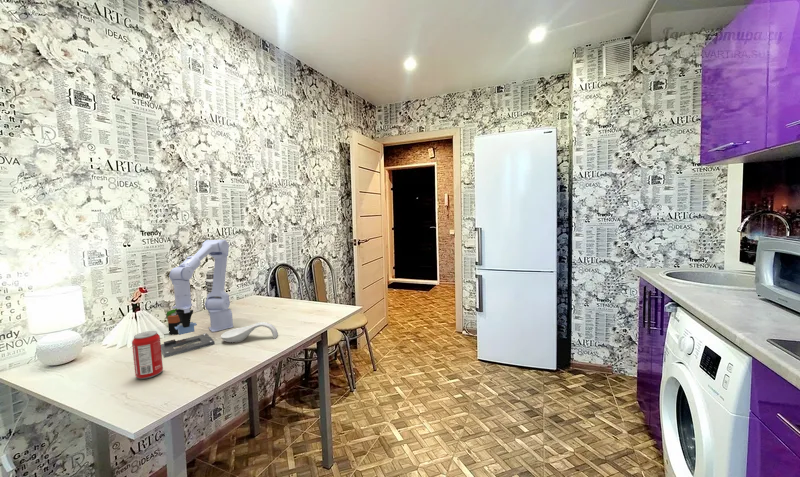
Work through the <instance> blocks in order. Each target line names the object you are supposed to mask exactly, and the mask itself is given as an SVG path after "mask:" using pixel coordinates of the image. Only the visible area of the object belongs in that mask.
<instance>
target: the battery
mask: <svg viewBox="0 0 800 477" xmlns="http://www.w3.org/2000/svg"><path fill="white" fill-rule="evenodd" d="M180 324H181V322H180V319H179V316H178V314H177V312H176V311H175V313H172V314H171V315H169V316H168V319H167V325H168V334H171V335H170V336H172V334H174V335H179V334H178V329H177V330H176V329H175V327H177V325H180ZM169 331H170V332H169Z"/></svg>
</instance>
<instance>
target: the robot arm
mask: <svg viewBox="0 0 800 477" xmlns="http://www.w3.org/2000/svg"><path fill="white" fill-rule="evenodd" d="M229 248H230V244H229V243H228V241H227V240H226V239H206V240H205V241H203V242H202V243H201V247H200V248H199V249H198V250H197V252H196V253H195V254H194V255H188V256H187V257H186V259H185V260H183V261H182V263H180V264H179V265H178V266H176V267H173V268H172V269H171V270H170V272H169V275H168V278H169V279H170V281H171V284H172V285H173V290H174V292H173V293H174V301H175V302H174V303H175V305H174V306H172V307H171V308H172V310H173V309H177V310H175V311H176V312H177V314H178V316H179V319H180V322H181V323H182V325H183V327H184V328H185V327H189V326H190V322H191V319H192V315H193V313H194V310H193V309H192V306H193V303H192V294H191V284H190V283H191V282H190V280H191V279H192V277H193V275H194V272H195V270H196V269H198V268H199V267H200V265H201V261H202V260H203V259H205V258H206V257H207V256H208V255H209V256H210V257H212V258H213V259H214V266H213V267H214V268H213V270H214V276H213V286H212V292H210V293H209V294H208V295H207V294H206V299H205V302H204V308H205V309H206V311H207V312H208V313H209V312H210V315H209V317H210V318H209V320H210V326H208V329H209V330H210V332H212V333H214V332H218V331H224V330H227V329H233V328H234V320H233V312H232V309H231V308H229V307H230V306H231V303H230V302H231V301H230V294H229V293H227V292H226V291H225V284H226V276H227V275H226V274H227V262H228V257H229V251H230V250H229ZM215 297H221V298H215Z"/></svg>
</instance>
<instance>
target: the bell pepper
mask: <svg viewBox="0 0 800 477" xmlns="http://www.w3.org/2000/svg"><path fill="white" fill-rule="evenodd" d="M175 310H177V309H173V308H172V309H171V310H169V311H166V319H167V320H168V316H169V315H171V314H172V313H175Z"/></svg>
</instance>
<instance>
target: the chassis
mask: <svg viewBox="0 0 800 477" xmlns="http://www.w3.org/2000/svg"><path fill="white" fill-rule="evenodd" d="M187 344H188V345H187ZM183 345H184V346H183ZM213 345H215V341H214V339H212V338H211V336H210V335H209V334H208V333H203V334H198V335H195V336H191V337H186V338H183V339H178V340H176V339H171V340H167V341H163V343H161V353H162V356H163V358H168V357H172V356H176V355H180V354H184V353H187V352H190V351H194V350H199V349H202V348H206V347H210V346H213ZM179 346H180V347H179ZM175 347H177V348H175Z"/></svg>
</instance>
